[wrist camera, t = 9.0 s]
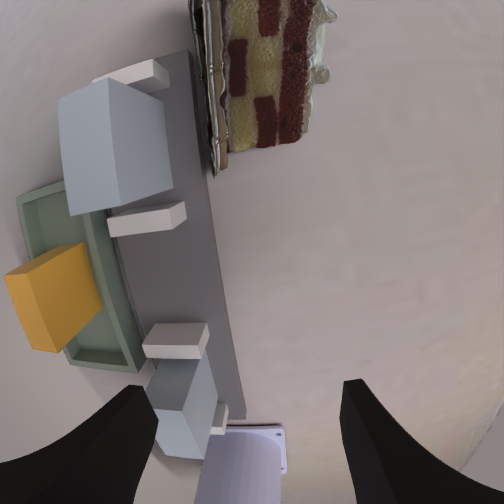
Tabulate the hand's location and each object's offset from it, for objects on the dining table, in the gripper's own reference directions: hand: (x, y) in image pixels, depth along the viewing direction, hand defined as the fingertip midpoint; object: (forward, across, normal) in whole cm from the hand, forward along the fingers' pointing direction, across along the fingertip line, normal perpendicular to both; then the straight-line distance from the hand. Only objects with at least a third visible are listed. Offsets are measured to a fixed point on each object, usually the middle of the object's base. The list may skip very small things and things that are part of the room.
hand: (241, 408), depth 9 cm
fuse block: (+9, +5, -2) cm, 11 cm away
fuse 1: (+8, +5, -10) cm, 14 cm away
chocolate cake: (+10, -2, -13) cm, 17 cm away
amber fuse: (+9, +12, -2) cm, 16 cm away
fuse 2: (+8, +5, +6) cm, 11 cm away
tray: (+9, +12, -2) cm, 16 cm away
